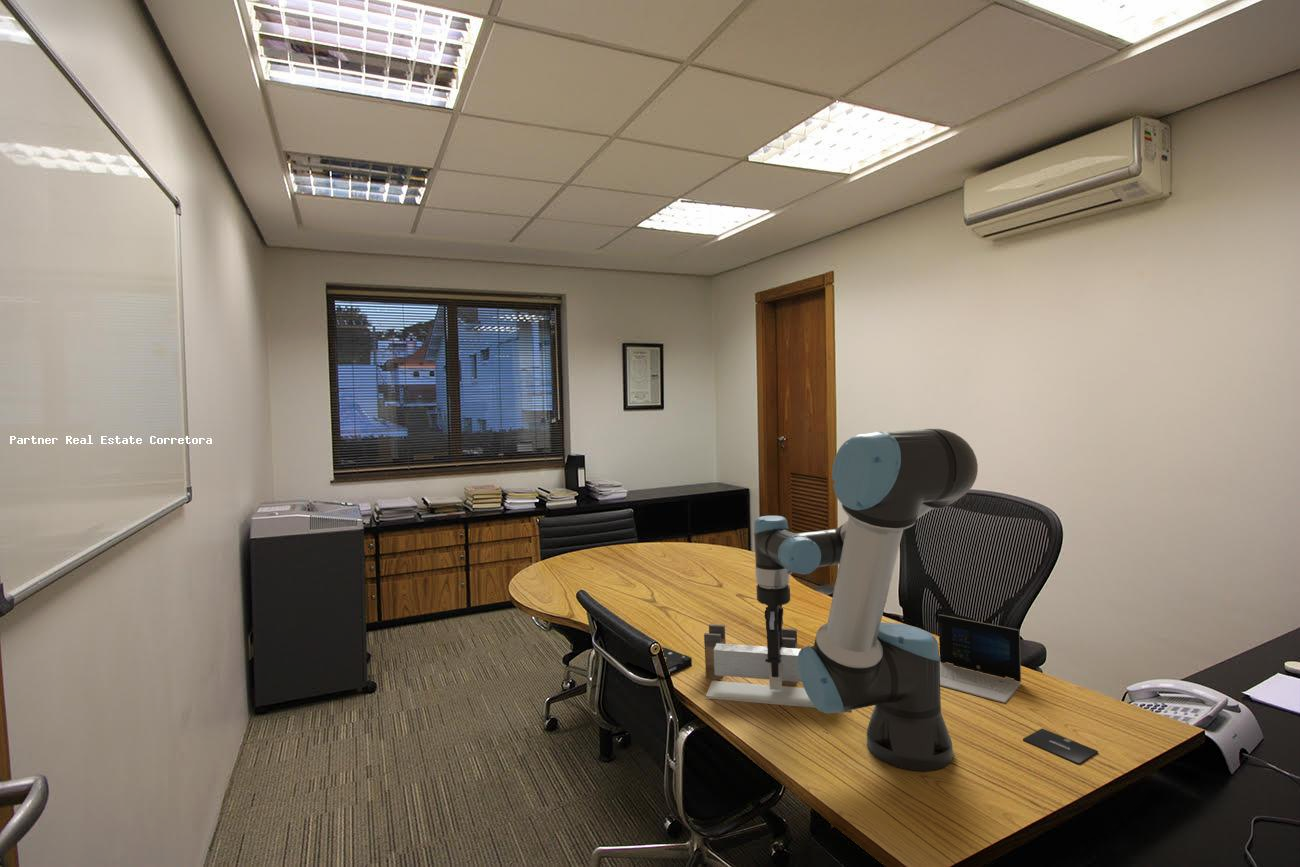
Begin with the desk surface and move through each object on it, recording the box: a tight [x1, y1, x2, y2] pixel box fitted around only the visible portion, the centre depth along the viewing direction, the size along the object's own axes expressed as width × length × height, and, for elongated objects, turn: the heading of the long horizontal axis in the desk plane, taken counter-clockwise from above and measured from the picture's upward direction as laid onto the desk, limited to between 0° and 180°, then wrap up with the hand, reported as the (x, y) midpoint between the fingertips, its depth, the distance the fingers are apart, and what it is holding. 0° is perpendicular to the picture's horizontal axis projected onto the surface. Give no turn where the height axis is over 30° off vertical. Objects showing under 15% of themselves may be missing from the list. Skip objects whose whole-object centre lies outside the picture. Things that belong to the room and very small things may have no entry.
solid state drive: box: [1022, 728, 1099, 766], centre depth 115 cm, size 7×10×1 cm
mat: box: [705, 680, 852, 712], centre depth 141 cm, size 8×32×1 cm, turn 74°
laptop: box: [938, 614, 1022, 704], centre depth 143 cm, size 18×12×13 cm
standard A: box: [782, 627, 798, 686], centre depth 150 cm, size 7×4×11 cm, turn 164°
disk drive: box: [660, 645, 693, 676], centre depth 162 cm, size 10×3×15 cm
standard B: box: [703, 624, 727, 680], centre depth 155 cm, size 7×4×11 cm, turn 164°
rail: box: [714, 643, 802, 683], centre depth 141 cm, size 4×28×6 cm, turn 74°
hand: (776, 684), depth 141 cm, fingers closed on rail, 4 cm apart
